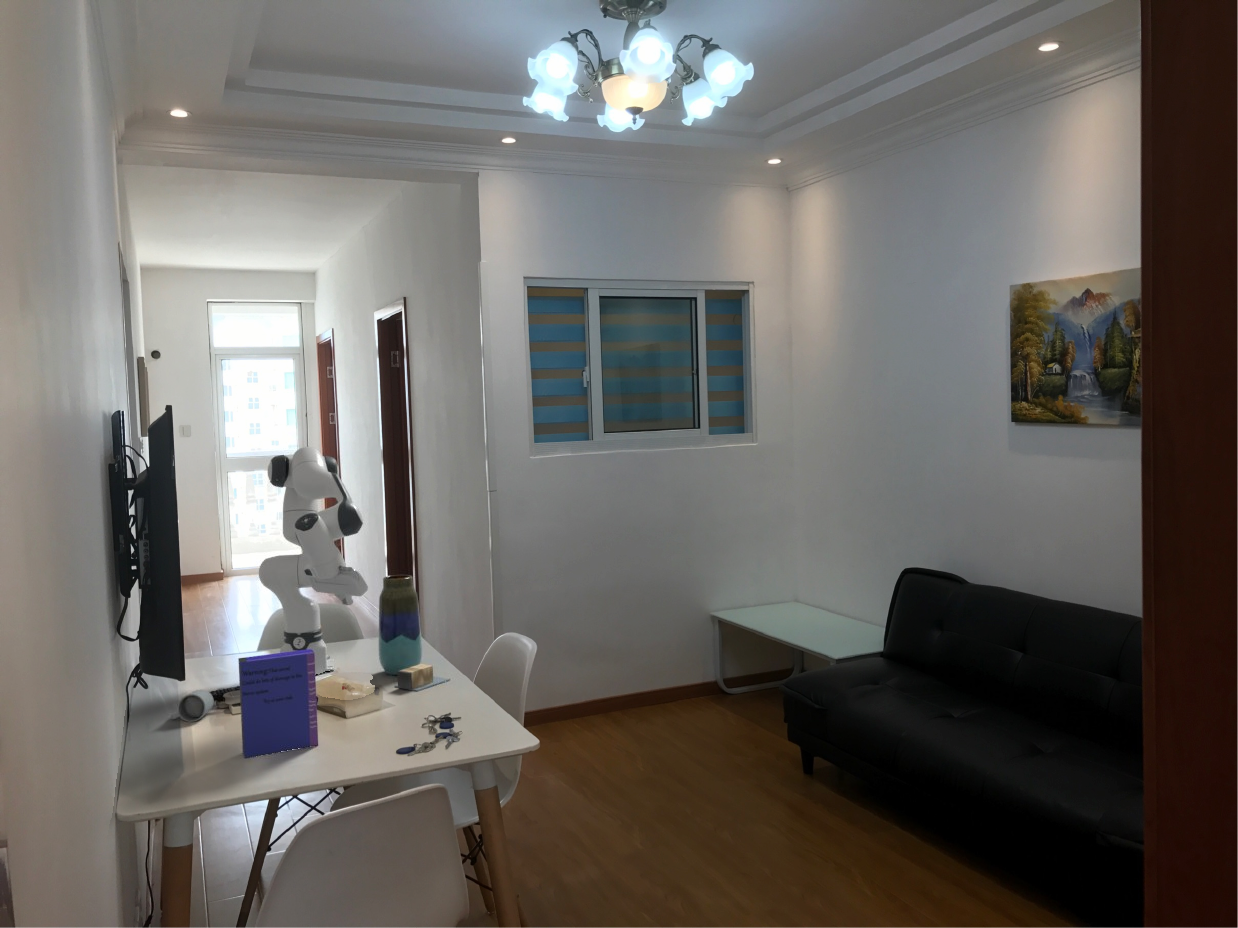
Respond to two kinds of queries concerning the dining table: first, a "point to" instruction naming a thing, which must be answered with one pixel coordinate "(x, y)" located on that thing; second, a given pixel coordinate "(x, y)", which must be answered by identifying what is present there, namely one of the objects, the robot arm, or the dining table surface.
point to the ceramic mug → (194, 706)
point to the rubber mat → (435, 681)
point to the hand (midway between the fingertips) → (348, 603)
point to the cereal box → (278, 702)
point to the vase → (399, 625)
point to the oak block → (415, 676)
